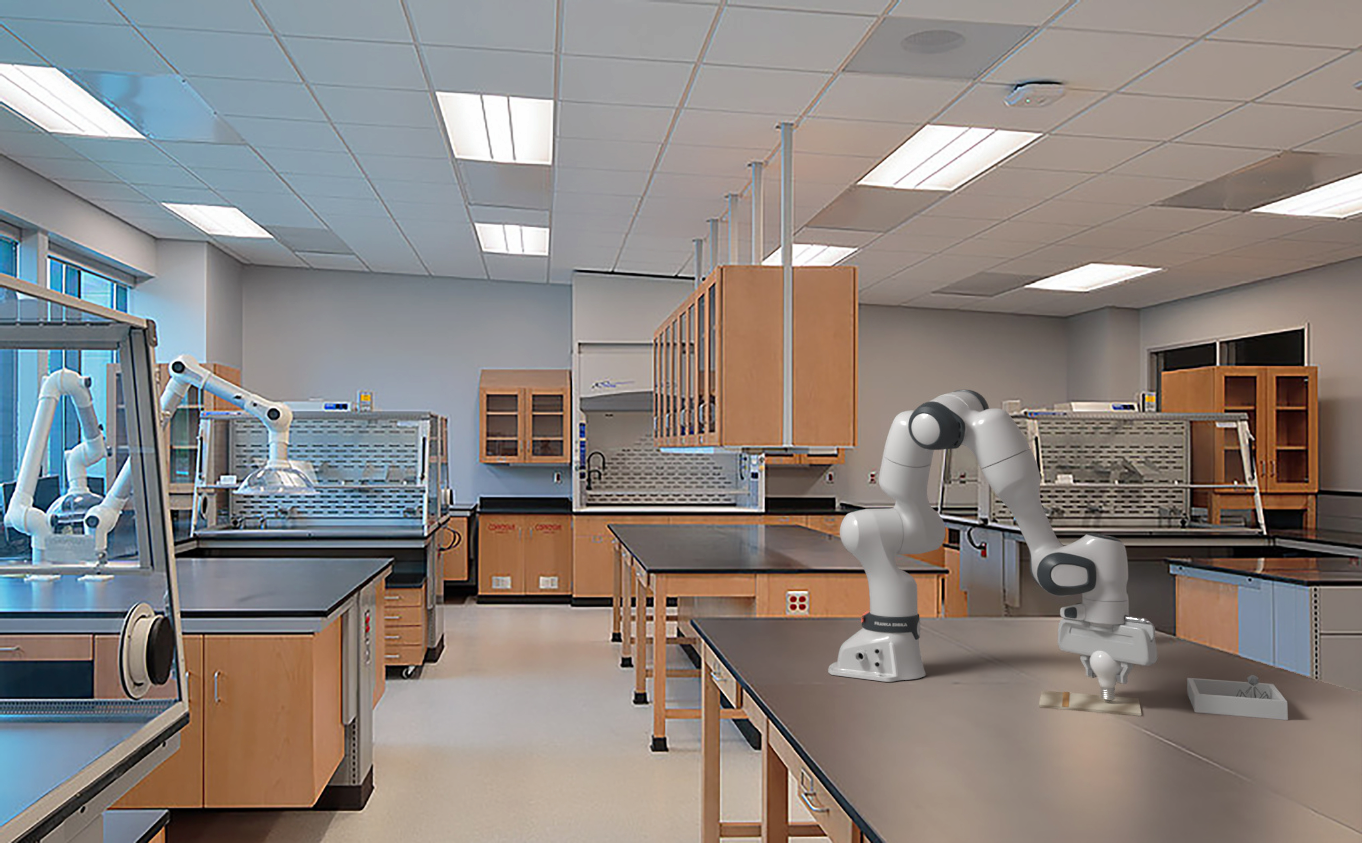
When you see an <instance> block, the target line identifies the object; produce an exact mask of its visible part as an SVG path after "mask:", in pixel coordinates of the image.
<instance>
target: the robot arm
mask: <svg viewBox="0 0 1362 843" xmlns="http://www.w3.org/2000/svg"><path fill="white" fill-rule="evenodd" d="M960 446H964V447H967V448H968V449H969V450H970V451H971V452H972V454H973V456H974V458H975V459H976V462H977V464H978V466H979V468H980V471H981V472H982V475H983V477H984V478H985V481H987V483H988V485H989V487H990V488H991V489H992V491H993V492H994V493H995V495H996V496H997V498H999V499H1000V501H1001V502H1002V503H1003V504H1004V505H1005V506H1006V507H1007V509H1008V510H1009V511H1010V512H1011V514H1012V516H1013V517H1014V520H1015V522H1016V524H1017V526H1018V528H1019V530H1020V532H1021V534H1022V536H1023V539H1024V541H1025V543H1026V545H1027V548H1028V551H1029V572H1030V574H1031V577H1032V579H1033V581H1034V582H1035V583H1036V584H1037V585H1038V586H1039V587H1040V588H1042V589H1043V590H1044V591H1046V592H1047V593H1049V594H1050V595H1052V596H1057V597H1067V596H1074V595H1079V594H1081V595H1082V596H1081V597H1082V599H1081V600H1082V602H1078V603H1075V604H1072V605H1067V606H1063V607H1061V608H1060V610H1059V615H1060V617H1061V619H1060V621H1059V623H1058V627H1057V629H1058V630H1057V646H1058V648H1059V649H1060V651H1061V652H1066V653H1072V654H1077V655H1080V661H1081V663H1082V665H1083V667H1084V668H1085V677H1087V678H1090V679H1095V678H1097V676H1096V675H1095V673H1094V672H1093V670H1092V668H1091V666H1090V657H1091V655H1092V654H1093V653H1094V652H1096V651H1103V652H1106V653H1107V654H1108V655H1109V656H1110V657H1111V658H1112V659H1113V660H1115V661H1120V662H1121V667H1123V669H1122V671H1121V673H1120V674H1116V678H1117V680H1116V684H1121V685H1127V684H1128V682H1129V680H1128V679H1129V678H1128V677H1129V676H1128V675H1129V674H1130V673H1131V672H1132V669H1133V667H1134V665H1137V666H1142V667H1148V666H1152V665H1155V664H1156V662H1157V661H1158V650H1157V644H1156V639H1155V637H1156V627H1155V625H1154V623H1152V622H1151V621H1149V619H1148V618H1145V617H1136V616H1131V615H1130V613H1129V612H1130V610H1129V609H1130V607H1129V606H1130V605H1129V602H1130V601H1129V600H1130V599H1129V594H1128V589H1127V584H1128V582H1129V581H1128V580H1129V565H1128V564H1129V563H1128V556H1127V555H1128V553H1127V549H1126V545H1125V544H1124V542H1122V541H1121V540H1120V539H1119V538H1117V537H1115V536H1110V535H1106V534H1101V533H1095V532H1094V533H1093V532H1091V533H1086V534H1085V535H1084V536H1082V537H1081V538H1079V539H1077V540H1076V541H1074V542H1072V543H1069V544H1066V545H1064V544H1063V543H1062V542H1061V541H1060V540H1059V539H1058V537H1057V535H1056V534H1055V531H1054V530H1053V529H1054V528H1053V527H1052V524H1051V523H1050V521H1049V518H1048V516H1047V514H1046V511H1045V510H1044V508H1043V505H1042V502H1041V493H1040V492H1041V491H1040V489H1041V480H1042V479H1041V474H1040V470H1039V467H1038V464H1037V461H1036V458H1035V456H1034V453H1033V450H1032V449H1031V446H1030V445H1029V443H1028V441H1027V439H1026V438H1025V435H1024V434H1023V432H1022V431H1021V428H1020V427H1019V426H1018V424H1017V423H1016V421H1014V419H1013V418H1012V416H1011V415H1010V414H1009V412H1007V411H1006V410H1005V409H1002V408H995V407H994V408H992V407H991V408H989V404H988V402H987V400H986V398H985V397H984V396H983V395H982V394H980V393H979V392H977V391H975V390H972V389H957V390H955V391H953V392H948V393H944V394H941V395H938V396H937V397H935V398H933V399H931V400H928V401H926V402H924V403H922V404H920V405H919V406H917V407H916V408H915V409H913V410H911V409H910V410H905V411H901V412H900V413H898V414H897V415H896V416H895V417H894V419H893V421H892V423H891V425H890V428H889V430H888V434H887V437H886V441H885V443H884V447H883V452H882V457H881V464H880V469H879V474H878V484H879V488H880V489H881V491H882V492H883V493H884V494H885V495H886V496H887V497H889V498H890V499H893V500H895V504H894V505H893V507H888V508H865V509H859V510H856V511H851V512H848V513H847V514H846V515H845V516H844V517H843V519H842V521H841V524H840V528H839V538H840V541H841V544H842V545H843V547H844V548H845V549H846V550H847V552H849V553H850V554H852V555H853V556H854V557H855V558H856V559H857V560H858V562H859V563H860V564H861V566H862V568H863V570H864V572H865V575H866V579H867V583H868V593H869V594H868V595H869V610H868V611H865V612H864V613H863V614H862V616H861V618H860V620H861V621H860V623H861V627H862V628H861V629H859V630H858V631H857V632H855V633H854V634H853V635H851V636H850V637H849V638H848V639H846V640H845V641H844V642H843V643H842V644H841V646H840V648H839V650H838V655H837V661H835V662H833V663H831V664H830V665H829V666H828V668H827V671H828V674H829V675H832V676H838V677H845V678H846V677H847V678H852V679H853V678H854V679H862V680H872V681H879V682H883V683H885V682H887V683H893V682H897V681H904V680H905V681H907V680H909V681H910V680H917V679H920V678H922V677H923V678H924V677H925V676H926V671H925V667H924V664H923V659H922V655H921V646H920V638H921V619H920V614H919V613H918V610H919V609H918V584H917V582H916V580H915V578H914V577H913V576H912V575H911V574H909V573H908V572H906V571H905V570H902V569H901V568H899V567H898V565H897V562H896V555H920V554H924V553H929V552H933V551H937V550H939V549H940V547H941V546H942V545H943V543H944V540H945V537H946V527H945V522H944V520H943V518H942V517H941V515H940V514H939V513H938V512H937V511H936V510H935V509H934V508H933V507H932V505H931V504H930V501H929V498H928V485H929V477H930V471H931V467H932V461H933V457H934V452H935V451H940V450H942V451H943V450H955V449H959V448H960Z"/></svg>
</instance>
